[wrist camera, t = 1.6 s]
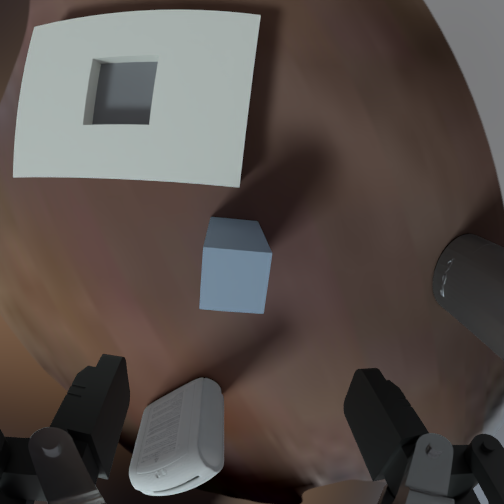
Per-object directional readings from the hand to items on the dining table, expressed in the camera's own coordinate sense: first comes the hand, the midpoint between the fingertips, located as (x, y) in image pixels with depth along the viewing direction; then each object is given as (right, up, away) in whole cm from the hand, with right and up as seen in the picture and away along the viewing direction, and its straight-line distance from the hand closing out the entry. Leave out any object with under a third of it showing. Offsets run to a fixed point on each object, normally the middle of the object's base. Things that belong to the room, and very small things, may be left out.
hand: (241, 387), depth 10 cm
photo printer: (-7, -12, +23) cm, 27 cm away
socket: (-10, +18, +13) cm, 24 cm away
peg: (-1, +5, +18) cm, 18 cm away
